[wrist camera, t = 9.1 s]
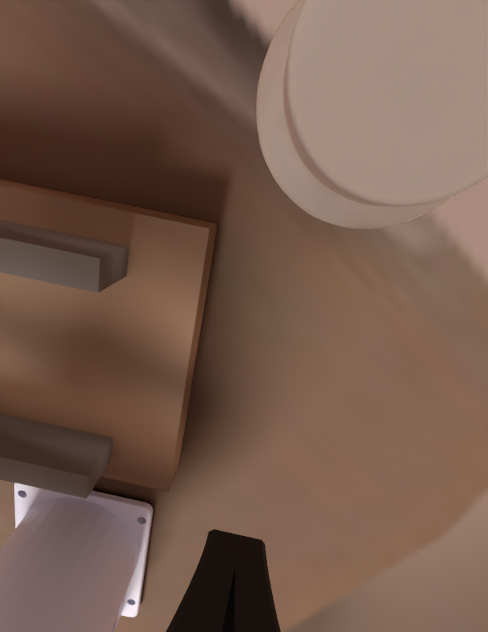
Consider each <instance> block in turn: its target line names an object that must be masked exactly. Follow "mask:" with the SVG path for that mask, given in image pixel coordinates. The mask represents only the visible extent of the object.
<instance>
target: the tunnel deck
mask: <svg viewBox="0 0 488 632" xmlns="http://www.w3.org/2000/svg"><path fill="white" fill-rule="evenodd" d="M217 225H218V223H213V222H208V221H204V220H199V219H194V218H189V217H184V216H179V215H174V214H170V213H165V212H160V211H155V210H150V209H145V208H140V207H135V206H131V205H126V204H121V203H116V202H111V201H106V200H101V199H96V198H92V197H87V196H82V195H77V194H72V193H67V192H62V191H58V190H53V189H48V188H43V187H38V186H33V185H28V184H23V183H19V182H14V181H9V180H4V179H0V479H1V480H5V481H10V482H14V483H19V484H23V485H27V486H32V487H36V488H41V489H45V490H50V491H54V492H59V493H63V494H68V495H72V496H77V497H81V498H86V499H87V497H88V495H89V494H90V492H91V491H92V489H93V487H94V486H95V484H96V482H97V481H98V479H99V478H100V477H104V478H109V479H114V480H118V481H123V482H127V483H132V484H136V485H141V486H145V487H150V488H154V489H159V490H163V491H168V492H169V490H170V487H171V484H172V481H173V479H174V476H175V473H176V470H177V468H178V465H179V460H180V454H181V448H182V442H183V435H184V429H185V423H186V417H187V411H188V405H189V398H190V392H191V386H192V380H193V374H194V367H195V361H196V355H197V349H198V343H199V336H200V330H201V324H202V318H203V312H204V305H205V299H206V293H207V287H208V281H209V275H210V268H211V262H212V256H213V250H214V244H215V237H216V231H217Z"/></svg>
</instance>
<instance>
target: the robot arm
mask: <svg viewBox="0 0 488 632" xmlns="http://www.w3.org/2000/svg"><path fill="white" fill-rule="evenodd" d="M14 493H15V526H16V529H15V530H14V531H13V533H12V534H11V535H10V537H9V538H8V539H7V540H6V542H5V543H4V544H3V546H2V547H1V548H0V632H115V630H116V627H117V624H118V622H119V619H120V616H121V615H123V616H127V617H135V616H136V615H137V614H138V611H139V608H140V601H141V594H142V587H143V579H144V572H145V565H146V558H147V551H148V543H149V536H150V529H151V522H152V515H153V508H152V506H151V505H150V504H148V503H146V502H141V501H137V500H132V499H128V498H123V497H119V496H114V495H110V494H105V493H101V492H96V491H91V492H90V494H89V495H88V497H87V499H86V498H81V497H77V496H72V495H68V494H63V493H59V492H54V491H50V490H45V489H41V488H36V487H32V486H27V485H23V484H19V483H15V484H14ZM142 517H143V518H142ZM166 632H281V631H280V627H279V623H278V619H277V615H276V610H275V605H274V600H273V595H272V590H271V585H270V579H269V573H268V567H267V559H266V551H265V544H264V542H263V541H262V540H259V539H255V538H250V537H246V536H241V535H237V534H232V533H228V532H223V531H219V530H212V531H209V533H208V537H207V541H206V544H205V547H204V550H203V553H202V556H201V559H200V561H199V564H198V566H197V569H196V571H195V573H194V576H193V578H192V580H191V582H190V585H189V587H188V589H187V591H186V593H185V595H184V597H183V599H182V601H181V603H180V605H179V607H178V609H177V611H176V613H175V615H174V617H173V619H172V621H171V623H170V625H169V627H168V629H167V631H166Z"/></svg>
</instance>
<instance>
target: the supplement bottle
mask: <svg viewBox="0 0 488 632" xmlns="http://www.w3.org/2000/svg"><path fill="white" fill-rule="evenodd" d="M256 121H257V130H258V137H259V142H260V148H261V152H262V155H263V158H264V160H265V162H266V164H267V166H268V168H269V170H270V172H271V174H272V176H273V178H274V179H275V181H276V182H277V184H278V185H279V187H280V188H281V189H282V190H283V192H284V193H285V194H286V195H287V196H288V197H289V198H290V199H291V200H292V201H293V202H294V203H295V204H296V205H297V206H299V207H300V208H301V209H303V210H304V211H305V212H306V213H308V214H309V215H310V216H313V217H315V218H317V219H319V220H322V221H325V222H327V223H330V224H333V225H337V226H341V227H346V228H352V229H378V228H385V227H390V226H395V225H399V224H402V223H405V222H408V221H410V220H413V219H415V218H418V217H420V216H422V215H424V214H426V213H428V212H430V211H431V210H433V209H435V208H436V207H438V206H439V205H441V204H442V203H444V202H445V201H446V200H448V199H449V198H450V197H451V196H454V195H456V194H459V193H460V192H463V191H465V190H467V189H469V188H471V187H472V186H474V185H476V184H478V183H479V182H481V181H482V180H483V179H485V178H486V177H488V0H299V1H298V2H297V3H296V4H295V5H294V7H293V8H292V9H291V11H290V12H289V13H288V14H287V16H286V17H285V18H284V20H283V22H282V23H281V25H280V26H279V28H278V30H277V32H276V34H275V35H274V37H273V39H272V42H271V44H270V46H269V49H268V51H267V54H266V57H265V59H264V62H263V66H262V69H261V73H260V78H259V83H258V90H257V99H256Z"/></svg>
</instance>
